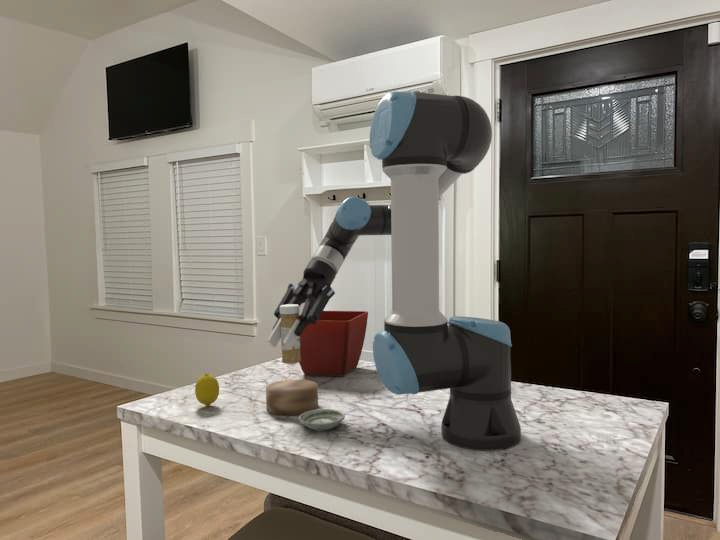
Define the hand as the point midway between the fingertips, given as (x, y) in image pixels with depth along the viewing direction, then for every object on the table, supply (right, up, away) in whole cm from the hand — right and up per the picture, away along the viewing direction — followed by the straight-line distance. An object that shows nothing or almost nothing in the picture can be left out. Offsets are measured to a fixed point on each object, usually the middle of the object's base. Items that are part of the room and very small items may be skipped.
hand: (279, 344), depth 121 cm
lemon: (-18, -16, +6) cm, 25 cm away
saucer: (+10, -16, -9) cm, 21 cm away
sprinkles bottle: (+2, -5, +3) cm, 6 cm away
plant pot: (+10, -13, +38) cm, 41 cm away
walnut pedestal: (+3, -15, +4) cm, 16 cm away
